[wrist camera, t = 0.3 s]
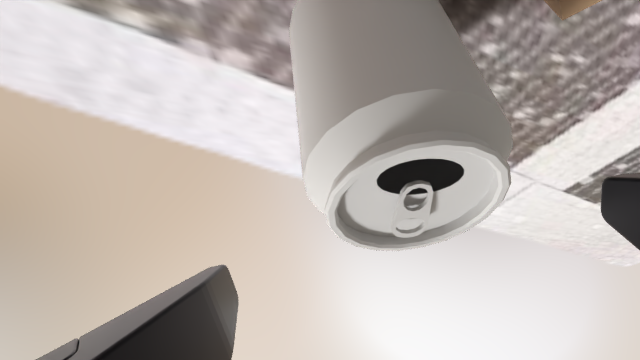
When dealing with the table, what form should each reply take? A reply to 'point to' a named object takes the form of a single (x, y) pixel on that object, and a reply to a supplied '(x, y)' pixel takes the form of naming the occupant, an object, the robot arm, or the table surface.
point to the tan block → (569, 6)
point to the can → (394, 123)
